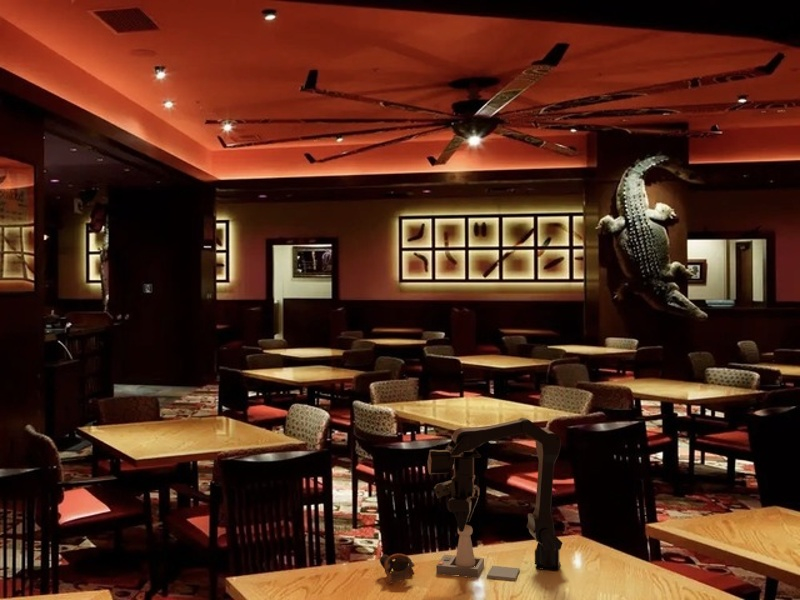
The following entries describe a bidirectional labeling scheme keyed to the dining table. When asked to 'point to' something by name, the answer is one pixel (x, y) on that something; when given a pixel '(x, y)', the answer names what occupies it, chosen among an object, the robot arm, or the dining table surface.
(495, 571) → the slate coaster
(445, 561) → the grey rectangular tray
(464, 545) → the salt shaker
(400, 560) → the pottery mug
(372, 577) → the dining table surface
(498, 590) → the dining table surface
